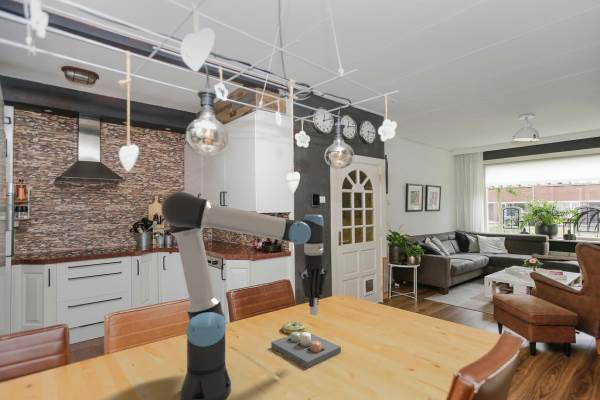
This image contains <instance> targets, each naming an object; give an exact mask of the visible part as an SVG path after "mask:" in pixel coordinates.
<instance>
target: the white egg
mask: <svg viewBox="0 0 600 400" xmlns="http://www.w3.org/2000/svg"><path fill="white" fill-rule="evenodd" d="M310 333H311V332H309V333H308V331H306V332H303V333H300V345H301V346H303V347H308V346H310V342H311V334H312V333H311V334H310Z"/></svg>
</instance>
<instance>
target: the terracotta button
mask: <svg viewBox="0 0 600 400" xmlns="http://www.w3.org/2000/svg"><path fill="white" fill-rule="evenodd" d="M310 351H311V352H313V353H315V354H317V353H319V352H322V347H321V342H320V341H312V342H310Z"/></svg>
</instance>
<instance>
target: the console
mask: <svg viewBox="0 0 600 400" xmlns="http://www.w3.org/2000/svg"><path fill="white" fill-rule="evenodd" d="M303 332H308V331H306V330H305V329H304V330H303V331H300V333H303ZM308 333H310V334H311V342H312V341H320V342H321V347H322V352H319V353H317V354H315V353H313V352H311V351H310V346H308V347H303V346H301V345H300V342H298V343H296V344H295V343H293V342H291V334H288V335H286V336H284V337H282V338H279V339H276V340H273V341H271V348H272V349H274V350H275V351H276V352H278V353H280V354H282V355H284V356H285V357H287V358H289V359H291V360H293V361H294V362H296V363H298V364H300V365H301V366H303V367H305V368H307V369H310V368H312V367H313V366H315V365H318V364H320V363H323V362H324V361H326V360H329V359H331V358H332V357H334V356H337V355H338V354H341V353H342V346H340V345H338V344H335V343H333V342H331V341H328V340H327V339H325V338H323V337H320V336H318V335H316V334H313V333H311V332H308Z"/></svg>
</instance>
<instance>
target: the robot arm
mask: <svg viewBox="0 0 600 400" xmlns="http://www.w3.org/2000/svg"><path fill="white" fill-rule="evenodd" d="M161 215H162V217H163V219H164V221H165V222H166V223H168V228H169V232H170V235H172V236H173V237H174V238H176V242H177V246H178V252H179V256H180V261H181V265H182V271H183V277H184V279H185V284H186V289H187V295H188V299H189V305H188V306H187V307H186V312H187V316H188V317H187V318H188V323H187V328H186V330H185V331H186V373H185V376H184V379H183V383H182V386H181V388H180V399H181V400H226V399H227V398H228V397H229V396H230V394H231V391H232V382H231V379H230V378H231V377H230V375H229V372H228V370H227V366H226V330H227V326H226V318H225V313H224V311H223V308H222V303H221V299H220V298H219V297H217V296H216V295H215V292H214V291H215V290H214V287H213V282H212V277H211V271H210V268H209V266H210V265H209V262H208V256H207V253H206V252H207V251H206V248H205V242H204V238H203V233H202V232H203V230H204V228H206V227H208V228H212V229H218V230H224V231H229V232H234V233H239V234H246V235H250V236H251V235H252V236H255V237H261V238H266V239H274V240H278V241H283V242H286V243H287V242H288V243H293V244H295V245H303V244H304V245H303V247H304V249H303V250H304V251H303V252H304V255H303V258H304V259H303V262H304V264H305V265H304V270H303V272H300V273H299V276H300V278H301V283H302V287H303V292H304V293H303V294H304V297H305V298H308V306H309V315H312V316H318V311H319V310H318V306H319V299H321V296H322V295H323V293H324V286H325V280H326V275H327V273H328V271H327V269H324V267H323V264H324V254H323V253H324V227H325V226H324V225H325V224H324V217H323V215H322V214H305V215H304V217H303V219H290V218H289V219H287V218H284V217H279V216H275V215H268V214H264V213H259V212H254V211H248V210H244V209H238V208H235V207H229V206H224V205H220V204H219V205H218V204H215V203H211V202H210V200H209V199H204V198H201V197H198V196H195V195H194V194H193V193H189V192H185V191H176V192H173V193H171V194H169V195H167V196H166V198H165V199H164V200H163V201H162V205H161Z"/></svg>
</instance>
